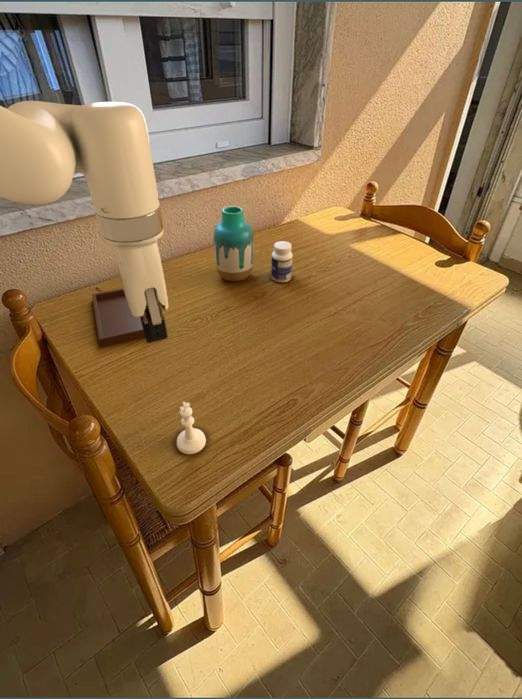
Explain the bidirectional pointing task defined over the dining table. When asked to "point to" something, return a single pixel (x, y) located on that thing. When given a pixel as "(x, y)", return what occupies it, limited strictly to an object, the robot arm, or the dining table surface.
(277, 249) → the pill bottle
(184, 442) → the chess piece
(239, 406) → the dining table surface
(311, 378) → the dining table surface
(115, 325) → the tray
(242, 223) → the vase
